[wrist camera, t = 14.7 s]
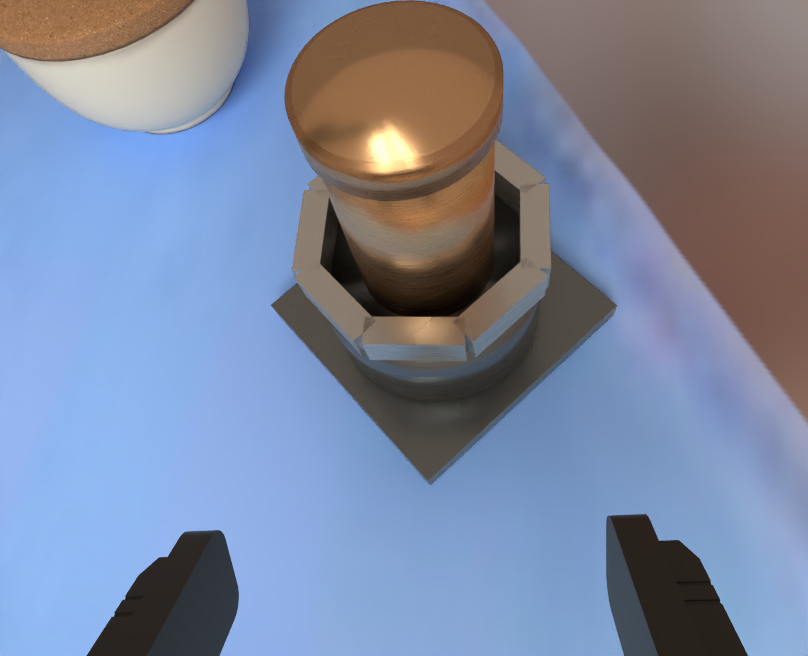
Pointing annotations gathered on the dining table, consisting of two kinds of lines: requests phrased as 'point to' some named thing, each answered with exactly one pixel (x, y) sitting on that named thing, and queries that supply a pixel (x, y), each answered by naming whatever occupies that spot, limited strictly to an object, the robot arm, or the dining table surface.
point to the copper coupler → (405, 147)
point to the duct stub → (444, 325)
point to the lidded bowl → (130, 57)
